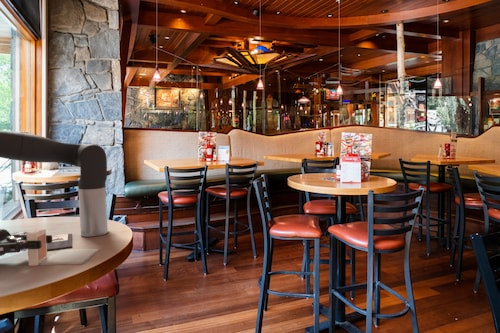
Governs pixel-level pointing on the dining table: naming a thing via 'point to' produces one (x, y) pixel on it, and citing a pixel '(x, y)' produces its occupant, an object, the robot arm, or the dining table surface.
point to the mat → (69, 256)
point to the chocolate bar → (60, 242)
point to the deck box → (37, 254)
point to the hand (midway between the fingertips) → (46, 241)
